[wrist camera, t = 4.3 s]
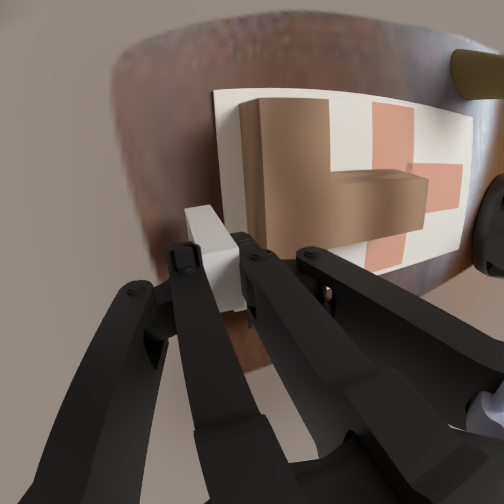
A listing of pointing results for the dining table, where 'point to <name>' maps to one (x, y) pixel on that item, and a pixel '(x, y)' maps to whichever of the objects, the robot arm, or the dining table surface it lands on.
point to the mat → (369, 165)
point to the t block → (316, 183)
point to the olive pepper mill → (478, 74)
